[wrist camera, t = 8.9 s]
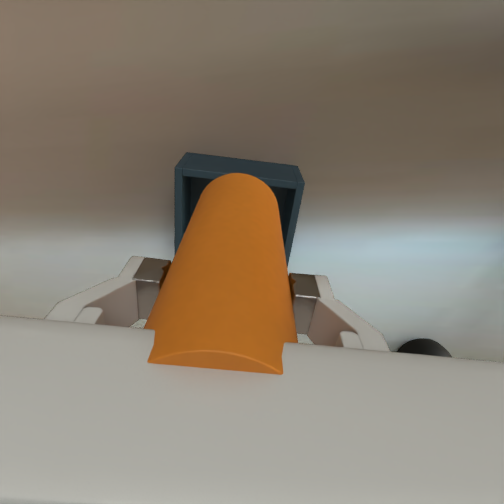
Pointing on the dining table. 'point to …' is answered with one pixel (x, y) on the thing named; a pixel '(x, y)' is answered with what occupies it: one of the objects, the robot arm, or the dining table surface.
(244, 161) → the dark open tray box
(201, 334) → the orange capped bottle
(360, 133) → the dining table surface
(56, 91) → the dining table surface
